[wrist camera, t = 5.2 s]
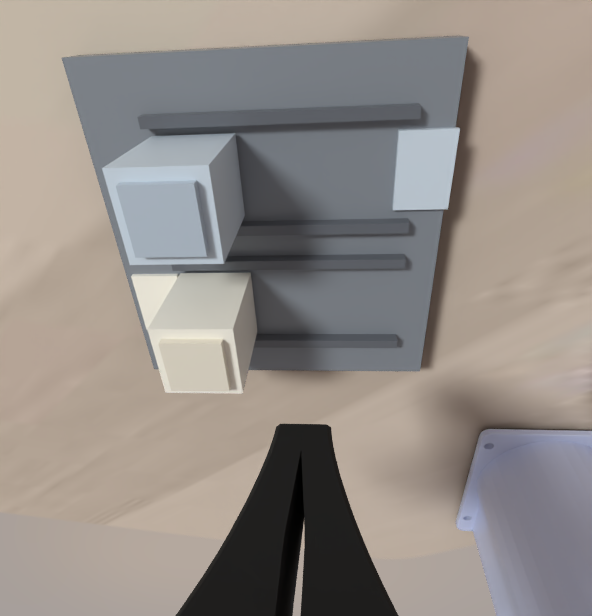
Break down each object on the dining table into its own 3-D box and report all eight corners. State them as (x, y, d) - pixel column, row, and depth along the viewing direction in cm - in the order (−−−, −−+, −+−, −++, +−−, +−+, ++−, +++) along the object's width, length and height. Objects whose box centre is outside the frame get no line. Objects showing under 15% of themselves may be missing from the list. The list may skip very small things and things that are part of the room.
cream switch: (257, 330, 20) (241, 399, 16) (192, 330, 20) (163, 398, 16) (250, 272, 18) (231, 334, 15) (180, 273, 18) (144, 334, 15)
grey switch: (244, 215, 17) (221, 268, 13) (168, 217, 17) (126, 269, 13) (235, 133, 15) (206, 168, 12) (151, 136, 15) (97, 171, 12)
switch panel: (417, 355, 22) (424, 378, 20) (161, 353, 23) (150, 376, 21) (462, 35, 14) (476, 36, 13) (79, 55, 15) (53, 58, 14)
